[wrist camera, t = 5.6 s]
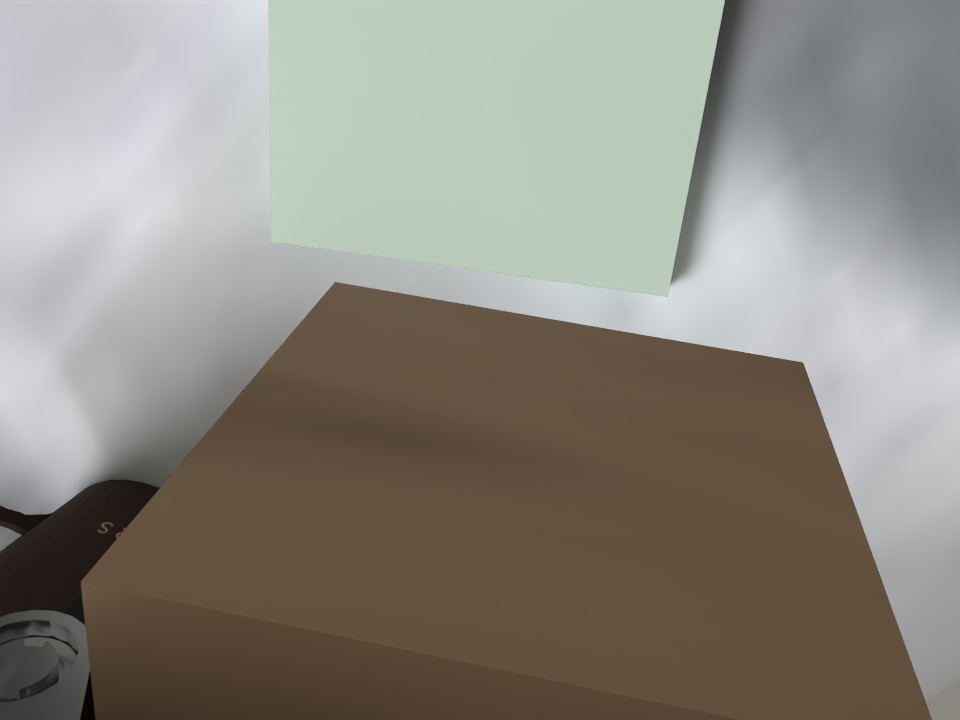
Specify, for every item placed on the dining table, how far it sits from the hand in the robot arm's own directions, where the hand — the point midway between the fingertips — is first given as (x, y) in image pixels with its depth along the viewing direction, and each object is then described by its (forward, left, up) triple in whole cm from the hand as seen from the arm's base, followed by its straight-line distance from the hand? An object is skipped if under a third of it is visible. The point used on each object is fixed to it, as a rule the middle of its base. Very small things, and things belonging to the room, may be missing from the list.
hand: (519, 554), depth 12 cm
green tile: (+4, +3, -16) cm, 17 cm away
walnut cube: (0, 0, -1) cm, 1 cm away
